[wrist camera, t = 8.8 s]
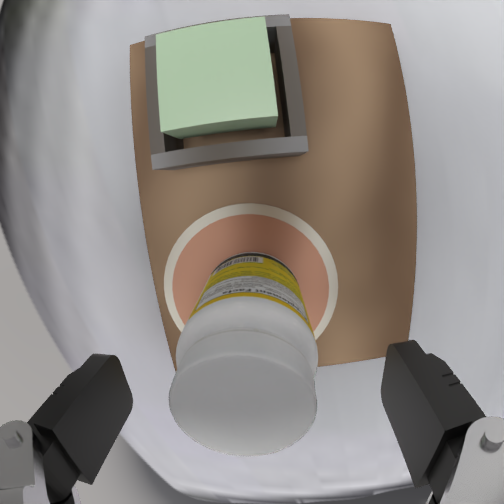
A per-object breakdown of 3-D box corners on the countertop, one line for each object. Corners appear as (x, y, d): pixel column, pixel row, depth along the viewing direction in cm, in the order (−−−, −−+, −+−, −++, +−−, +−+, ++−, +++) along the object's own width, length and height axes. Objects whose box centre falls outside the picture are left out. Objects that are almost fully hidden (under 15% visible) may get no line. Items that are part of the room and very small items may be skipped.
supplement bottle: (266, 350, 16) (265, 479, 8) (190, 308, 16) (131, 422, 7) (318, 280, 15) (367, 390, 7) (236, 231, 14) (201, 303, 6)
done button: (265, 43, 10) (264, 16, 8) (275, 127, 11) (278, 115, 9) (174, 56, 10) (155, 34, 8) (180, 139, 11) (160, 131, 9)
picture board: (384, 30, 12) (411, 0, 9) (400, 344, 17) (425, 380, 13) (136, 51, 13) (105, 24, 9) (179, 364, 18) (162, 405, 14)
